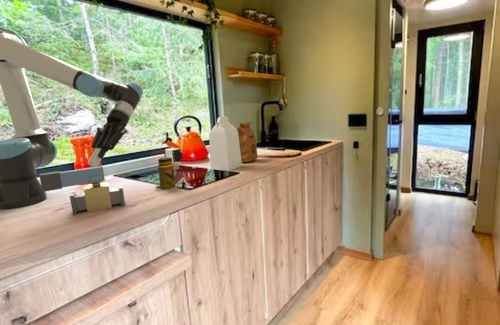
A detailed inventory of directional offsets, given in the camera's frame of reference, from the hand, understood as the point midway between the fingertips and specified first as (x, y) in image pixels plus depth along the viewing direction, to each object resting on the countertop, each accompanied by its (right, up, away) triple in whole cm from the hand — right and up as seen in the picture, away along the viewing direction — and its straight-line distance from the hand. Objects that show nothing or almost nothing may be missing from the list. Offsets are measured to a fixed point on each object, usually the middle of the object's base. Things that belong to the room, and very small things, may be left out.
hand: (92, 165), depth 104 cm
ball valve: (+6, -14, -6) cm, 16 cm away
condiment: (+22, -9, +16) cm, 28 cm away
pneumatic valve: (+16, -3, +53) cm, 55 cm away
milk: (+43, -2, +49) cm, 66 cm away
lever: (0, -6, -10) cm, 12 cm away
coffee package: (+54, +1, +63) cm, 83 cm away
